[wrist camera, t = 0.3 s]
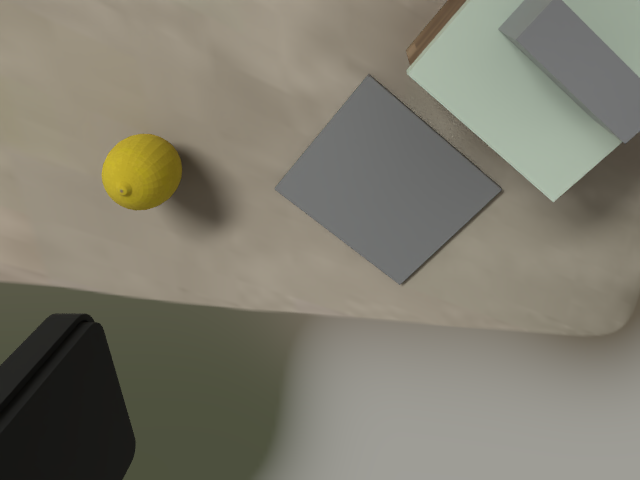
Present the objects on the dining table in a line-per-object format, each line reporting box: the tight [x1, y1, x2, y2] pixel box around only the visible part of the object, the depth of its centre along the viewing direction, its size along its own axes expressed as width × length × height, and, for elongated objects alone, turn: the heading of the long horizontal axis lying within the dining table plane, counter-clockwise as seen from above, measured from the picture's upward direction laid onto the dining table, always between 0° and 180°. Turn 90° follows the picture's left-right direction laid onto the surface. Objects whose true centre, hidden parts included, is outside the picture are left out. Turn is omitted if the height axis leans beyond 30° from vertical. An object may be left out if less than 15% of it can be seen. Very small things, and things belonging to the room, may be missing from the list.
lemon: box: [102, 134, 182, 210], centre depth 42 cm, size 6×6×8 cm
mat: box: [275, 74, 502, 285], centre depth 45 cm, size 14×12×1 cm
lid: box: [406, 0, 640, 202], centre depth 30 cm, size 12×12×7 cm
